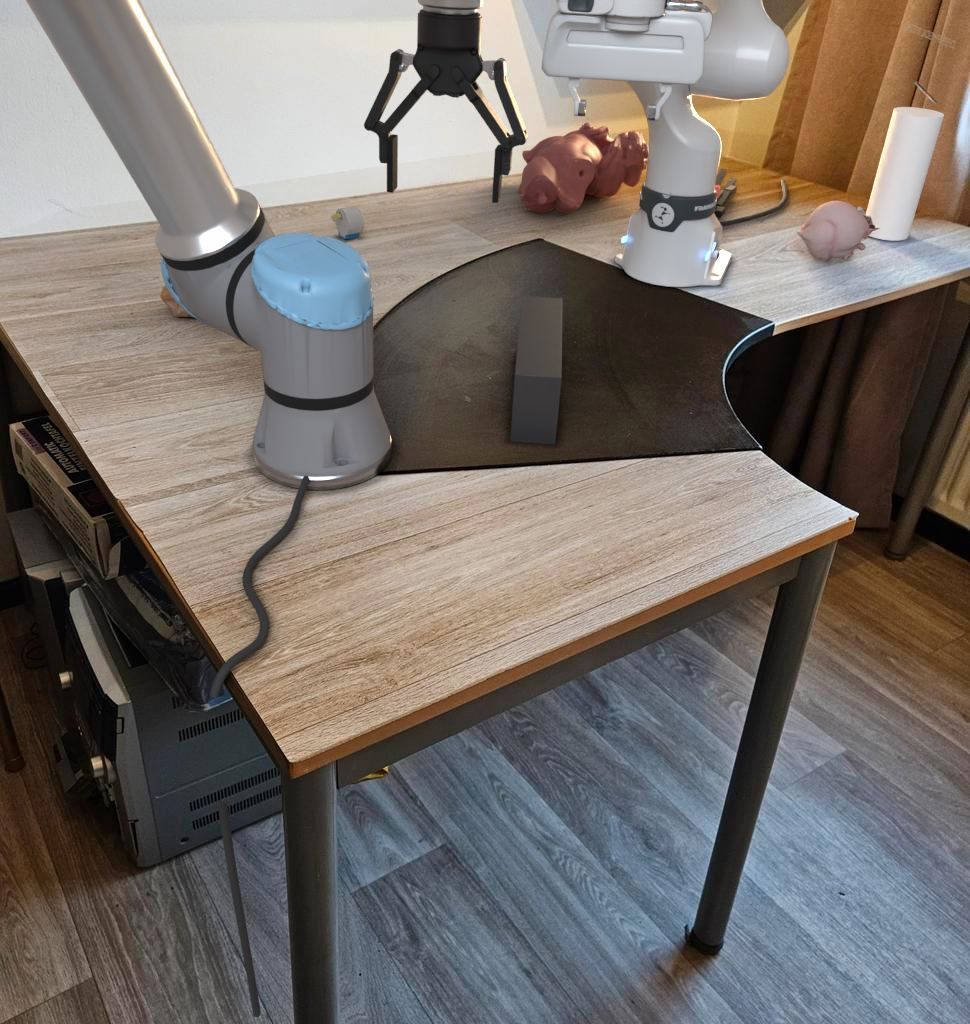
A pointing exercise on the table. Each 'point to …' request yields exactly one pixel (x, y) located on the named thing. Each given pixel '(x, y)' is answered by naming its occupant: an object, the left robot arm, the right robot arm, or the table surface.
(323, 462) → the left robot arm
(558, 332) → the bar
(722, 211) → the toy
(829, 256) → the toy
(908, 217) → the tall white tube
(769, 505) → the table surface
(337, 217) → the electric motor
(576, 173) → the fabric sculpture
